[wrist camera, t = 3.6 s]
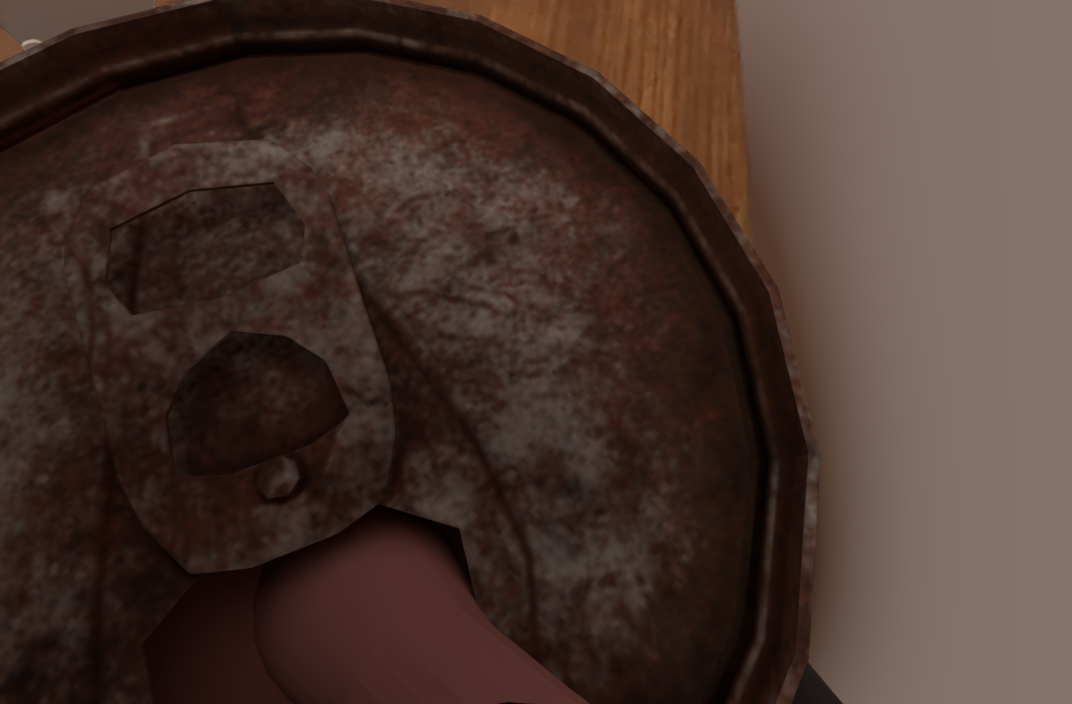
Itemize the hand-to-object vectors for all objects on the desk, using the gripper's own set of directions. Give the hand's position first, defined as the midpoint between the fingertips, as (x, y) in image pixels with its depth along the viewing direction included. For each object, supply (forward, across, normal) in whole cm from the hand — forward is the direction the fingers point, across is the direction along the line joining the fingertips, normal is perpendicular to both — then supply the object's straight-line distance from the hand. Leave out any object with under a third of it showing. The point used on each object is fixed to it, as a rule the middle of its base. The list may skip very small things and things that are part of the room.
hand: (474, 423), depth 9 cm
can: (+4, 0, +6) cm, 7 cm away
